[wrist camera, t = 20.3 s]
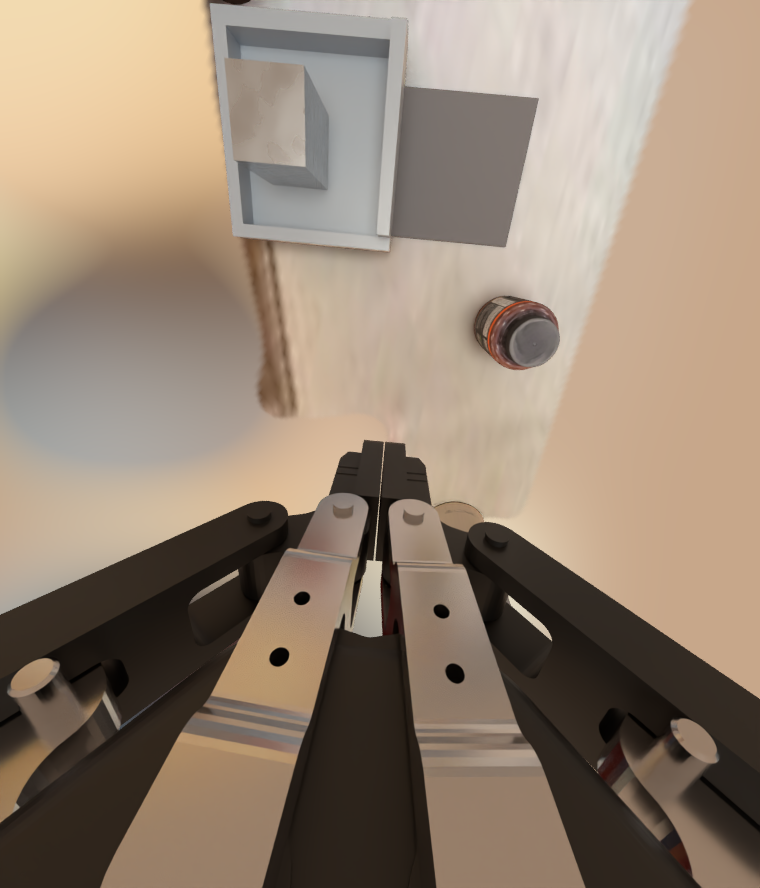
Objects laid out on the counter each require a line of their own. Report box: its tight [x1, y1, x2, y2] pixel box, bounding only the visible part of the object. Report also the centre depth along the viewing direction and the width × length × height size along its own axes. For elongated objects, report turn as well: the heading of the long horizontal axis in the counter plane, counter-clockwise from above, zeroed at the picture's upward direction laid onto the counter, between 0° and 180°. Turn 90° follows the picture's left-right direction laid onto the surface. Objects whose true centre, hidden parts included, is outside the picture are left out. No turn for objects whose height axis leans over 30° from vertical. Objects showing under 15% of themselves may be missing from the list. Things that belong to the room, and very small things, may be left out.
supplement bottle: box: [474, 296, 560, 370], centre depth 33 cm, size 6×6×11 cm
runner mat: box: [392, 86, 539, 247], centre depth 32 cm, size 11×26×1 cm, turn 85°
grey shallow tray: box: [210, 3, 408, 252], centre depth 28 cm, size 14×14×8 cm
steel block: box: [224, 58, 329, 190], centre depth 26 cm, size 5×5×8 cm
